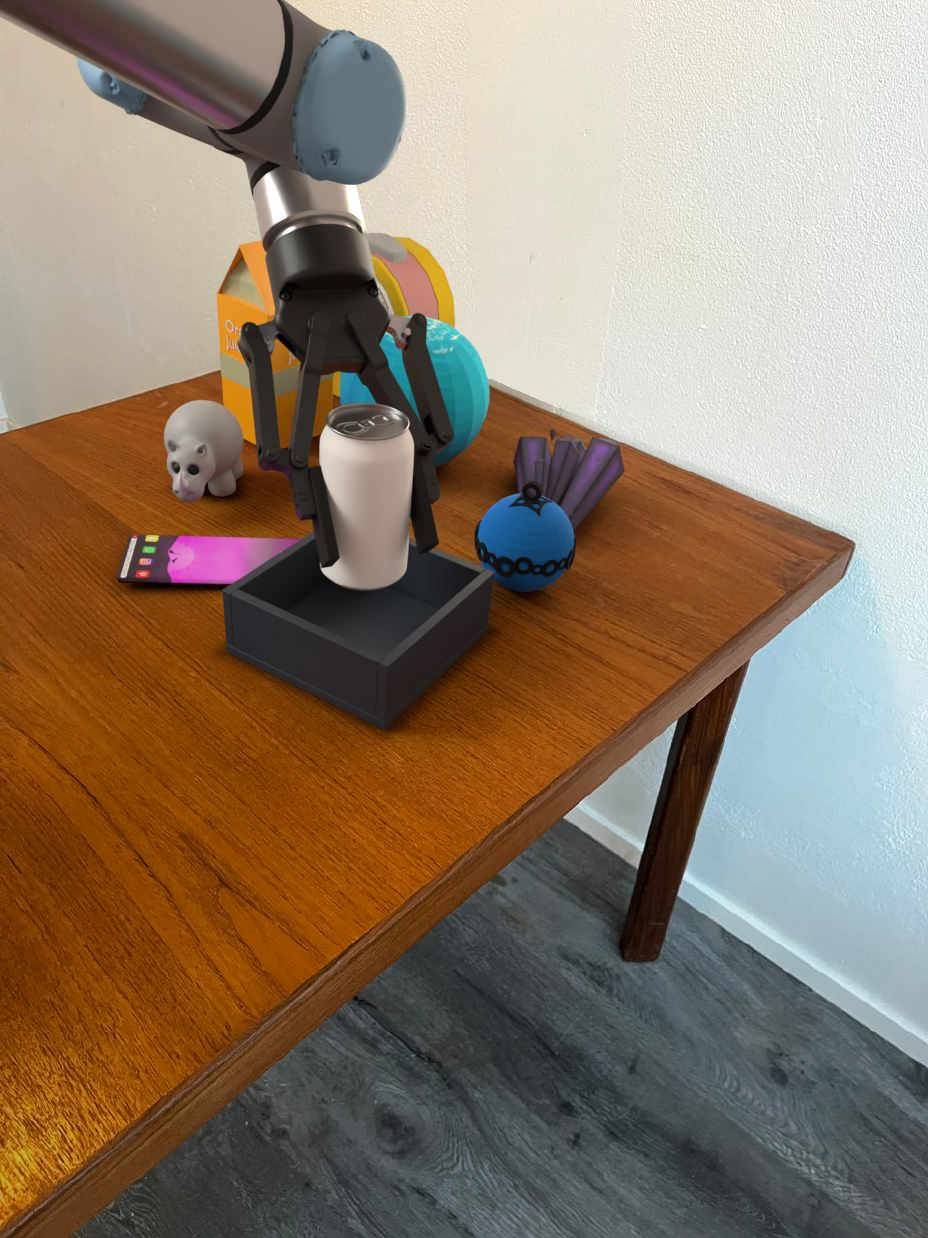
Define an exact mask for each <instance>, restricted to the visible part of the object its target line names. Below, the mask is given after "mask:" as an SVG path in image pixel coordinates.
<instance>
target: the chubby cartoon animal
mask: <svg viewBox="0 0 928 1238" xmlns="http://www.w3.org/2000/svg"><path fill="white" fill-rule="evenodd" d="M244 442H245V439H244V438H243V432H242V428H241V426H240V423H239V422H238V420H237V418H236V417H235V416H234V414H233V413H232V412H231V411H229V410H228V409H227V408H226V407H224V405H223V404H221V403H218V402H215V401H213V400H208V399H197V400H196V399H195V400H192V401H189V402H186V403H184V404H182V405H181V406H179V407H178V408H177V409H175V410H174V411H173V412H172V413H171V415H170V416H169V417H168V420H167V421H166V424H165V427H164V431H163V443H164V448H165V451H166V453H167V459H166V468H167V471H168V473H169V475H170V476H171V478H172V492H173V494H174V496H175V497H176V498H177V499H178V500H180V501H182V502H183V503H192V502H197V501H198V500H199V499H201V498H202V497H203V495H204V493H205V488H206V484H207V488H208V491H209V492H210V494H212V495H213V496H216V497H227V496H230V495H232V494H234V493H235V492H236V489H237V482H236V480H238V479H239V478H242V476H243V474H244V465H243V461H242V459H241V456H242V453H243V451H244Z"/></svg>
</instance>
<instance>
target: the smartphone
mask: <svg viewBox="0 0 928 1238" xmlns="http://www.w3.org/2000/svg"><path fill="white" fill-rule="evenodd" d="M300 539H301V538H276V537H244V536H243V537H241V536H237V537H236V536H208V535H207V536H203V535H198V536H197V535H172V534H171V535H170V534H169V535H166V534H165V535H164V534H133V533H131V534H129V535H128V538H127V541H126V544H125V548H124V551H123V554H122V557H121V560H120V564H119V567H118V570H117V573H116V580H117V582H118V583H119V584H144V585H145V584H148V585H150V584H151V585H190V586H191V585H194V586H197V585H198V586H229V585H231V584H232V583H234V582H235V581H237V580H238V579H240V578H242V577H243V576H245V575H246V574H248V573H249V572H251V571H252V570H254V569H255V568H257V567H259V566H260V565H262V564H263V563H265V562H266V561H268V560H269V559H271V558H273V557H274V556H276V555H277V554H279V553H280V552H282V551H283V550H285V549H286V548H288V547H290V546H291V545H293V544H294V543H296V542H297V541H299V540H300Z"/></svg>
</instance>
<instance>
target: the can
mask: <svg viewBox="0 0 928 1238" xmlns="http://www.w3.org/2000/svg"><path fill="white" fill-rule="evenodd" d="M326 424H327V425H326V426H325V428H324V430H323V432H322V434H320V437H319V448H318V449H319V451H318V452H319V453H318V454H319V455H318V457H319V458H318V466H321V469H322V473H323V477H324V482H325V487H326V492H327V497H328V502H329V507H330V512H331V517H332V522H333V527H334V532H335V536H336V541H337V546H338V551H339V556H340V558H339V560H338V561H337V562H336V563H335V564H334V565H333V566H332V567H326V568H321V570H322V572H323V573H324V575H325V576H327V577H328V578H329V579H330V580H331V581H332V582H334V583H335V584H337V585H339V586H341V587H344V588H347V589H351V590H357V591H373V590H379V589H383V588H386V587H389V586H391V585H393V584H394V583H396V582H397V581H398V580H399V579H400V578H401V577H402V576H403V575H404V574H405V572H406V568H407V560H408V545H409V538H410V527H411V518H410V514H411V497H412V480H413V462H414V441H413V438H412V435H411V433H410V431H409V429H408V428H409V419H408V417H407V416H406V415H405V414H404V413H402V412H401V411H399V410H397V409H395V408H392V407H390V406H386V405H382V404H375V403H352V404H346V405H342V406H341V405H339V406H337V407H333V410H331V411H330V412H329V413H328V414H327V416H326ZM320 567H321V564H320Z"/></svg>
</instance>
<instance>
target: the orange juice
mask: <svg viewBox="0 0 928 1238" xmlns="http://www.w3.org/2000/svg"><path fill="white" fill-rule="evenodd" d="M266 254H267V253H266V252H265V250H264V248H263V245H262V240H257V241H252V242H247V243H242V244H238V248H237V251H236V253H235V255H234V256H233V259H232V261H231V264H230V266H229V268H228V270H227V272H226V274H225V276H224V278H223V280H222V282H221V285H220V287H219V289H218V291H217V292H216V308H217V309H216V310H217V311H216V312H217V325H218V326H217V327H218V337H219V338H218V341H219V361H220V362H219V366H220V376H221V387H222V388H221V389H222V402H223V403H222V406H224V407H226V408H227V409H228V410H229V411H231V412H232V413H233V414H234V416H235V417H236V418H237V420H238V422H239V423H240V426H241V428H242V432H243V438H244V441H245V440H246V442H247V441H248V442H249V443H251V444H253V445H255V446H256V437H255V428H254V418H253V408H252V398H251V388H250V378H249V369H248V367H247V365H246V363H245V361H244V359H243V356H242V354H241V352H240V350H239V348H238V345H237V344H238V339H239V335H240V332H241V328H242V326H243V324H244V323H246V322H253V323H255V324H256V325H260V324H263V323H266V322H269V321H273V318H274V315H275V305H274V301H273V296H272V291H271V286H270V281H269V276H268V271H267V266H266V260H265V258H266ZM274 344H275V347H274V350H273V353H272V355H271V362H272V371H273V381H274V390H275V400H276V410H277V419H278V429H279V439H280V448H282V449H288V448H289V441H290V434H291V427H292V421H293V414H294V407H295V400H296V394H297V381H298V375H299V368H300V361H299V360H298V359H297V358H296V357H295V356H294V355H293V354H292V353H291V352H290V351H289V350H288V349H287V348H286V347H285V346H284V345H283V344H282V343H281V342H280V341H279V340H278V339H275V340H274ZM333 378H334V373H332V374H329V375H321V379H320V386H319V393H318V400H317V407H316V414H315V421H314V428H313V435H312V438H315V437H317V436H321V434H322V432H323V430H324V428H325V426H326V425H327V424H326V416H327V414H328V413H329V412H330V411H331V410H333V409H334V394H333Z"/></svg>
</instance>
